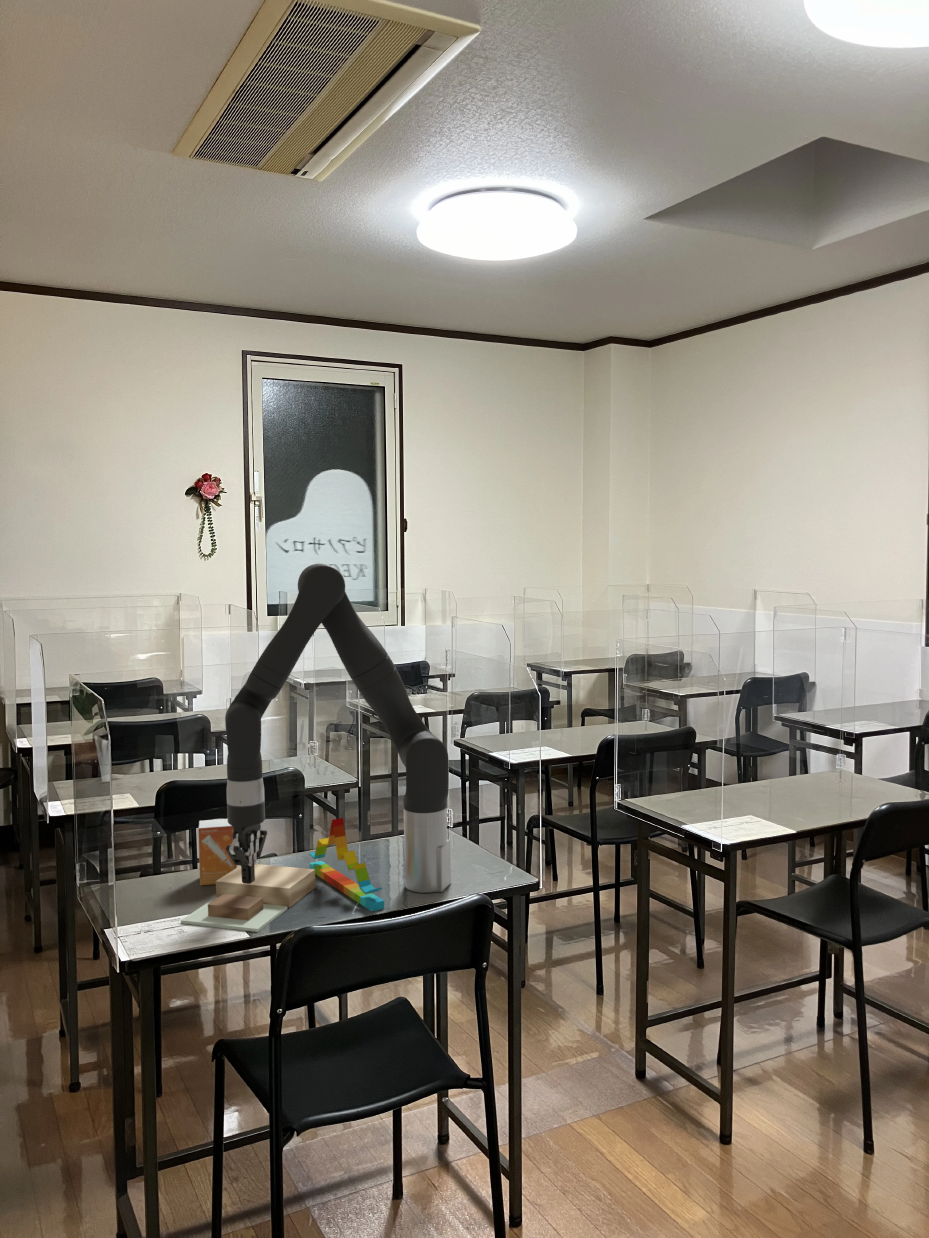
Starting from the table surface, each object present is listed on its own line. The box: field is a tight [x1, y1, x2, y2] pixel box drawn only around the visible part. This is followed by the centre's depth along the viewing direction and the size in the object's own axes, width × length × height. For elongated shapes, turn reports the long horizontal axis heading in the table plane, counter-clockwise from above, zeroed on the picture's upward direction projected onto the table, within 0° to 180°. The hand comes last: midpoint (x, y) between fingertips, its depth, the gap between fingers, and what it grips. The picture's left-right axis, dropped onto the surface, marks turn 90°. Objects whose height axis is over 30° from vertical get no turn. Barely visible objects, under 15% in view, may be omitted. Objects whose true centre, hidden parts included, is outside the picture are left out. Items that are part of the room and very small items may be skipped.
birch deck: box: [215, 863, 316, 908], centre depth 209 cm, size 17×12×4 cm
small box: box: [198, 818, 238, 886], centre depth 218 cm, size 8×6×13 cm
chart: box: [308, 817, 385, 912], centre depth 212 cm, size 30×3×15 cm, turn 33°
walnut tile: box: [208, 894, 263, 921], centre depth 197 cm, size 9×6×2 cm, turn 73°
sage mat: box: [180, 898, 288, 933], centre depth 197 cm, size 17×12×1 cm
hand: (248, 882), depth 203 cm, fingers closed
